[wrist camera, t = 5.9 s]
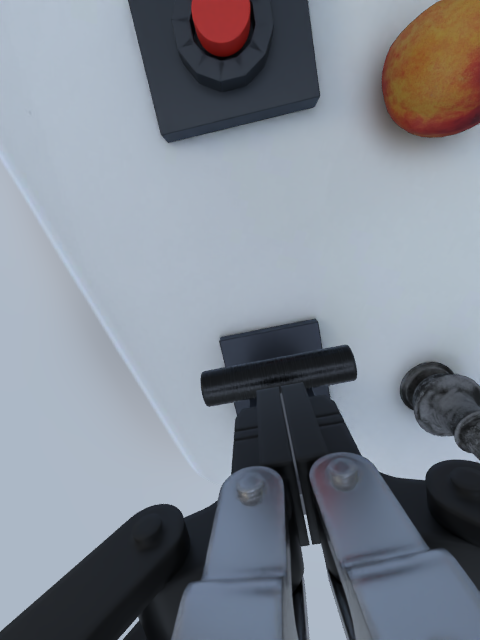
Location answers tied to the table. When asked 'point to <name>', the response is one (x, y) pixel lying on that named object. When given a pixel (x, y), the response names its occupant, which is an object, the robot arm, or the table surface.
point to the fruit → (436, 71)
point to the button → (221, 25)
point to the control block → (225, 67)
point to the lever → (279, 378)
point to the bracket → (272, 349)
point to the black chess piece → (444, 403)
